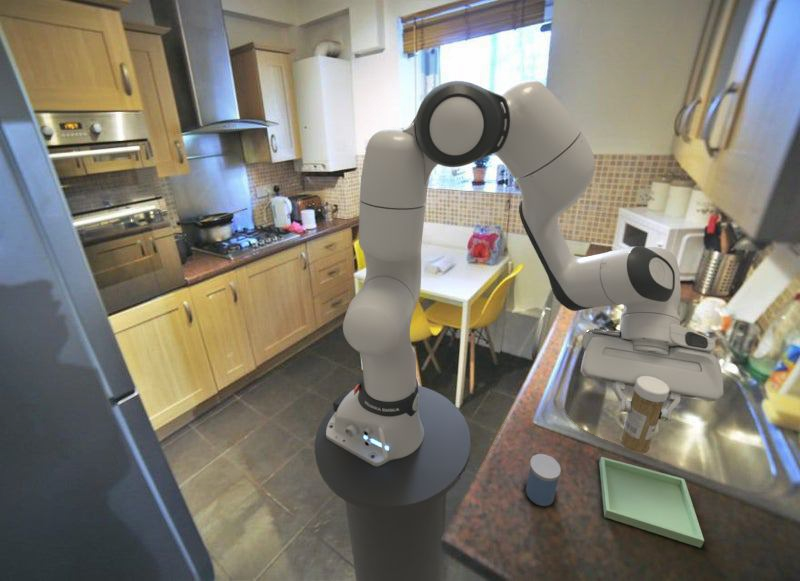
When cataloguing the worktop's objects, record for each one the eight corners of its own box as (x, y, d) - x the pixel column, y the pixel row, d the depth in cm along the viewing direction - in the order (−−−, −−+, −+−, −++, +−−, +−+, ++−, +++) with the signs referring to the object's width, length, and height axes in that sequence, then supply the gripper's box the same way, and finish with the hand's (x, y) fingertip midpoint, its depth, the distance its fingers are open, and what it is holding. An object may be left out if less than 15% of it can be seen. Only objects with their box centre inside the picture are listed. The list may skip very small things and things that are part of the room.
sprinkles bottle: (654, 455, 62) (676, 393, 56) (625, 454, 63) (645, 392, 57) (640, 434, 66) (660, 375, 60) (614, 433, 67) (631, 374, 61)
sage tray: (604, 517, 65) (606, 510, 64) (599, 463, 75) (601, 456, 75) (700, 548, 60) (704, 540, 59) (681, 485, 70) (684, 478, 69)
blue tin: (524, 501, 68) (529, 472, 65) (526, 478, 73) (531, 450, 69) (554, 510, 66) (560, 482, 63) (554, 486, 71) (561, 458, 68)
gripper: (586, 321, 66) (578, 399, 62) (727, 342, 58) (729, 432, 54) (581, 330, 71) (573, 402, 67) (709, 350, 64) (709, 432, 60)
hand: (644, 415), depth 61 cm, fingers closed on sprinkles bottle, 4 cm apart
